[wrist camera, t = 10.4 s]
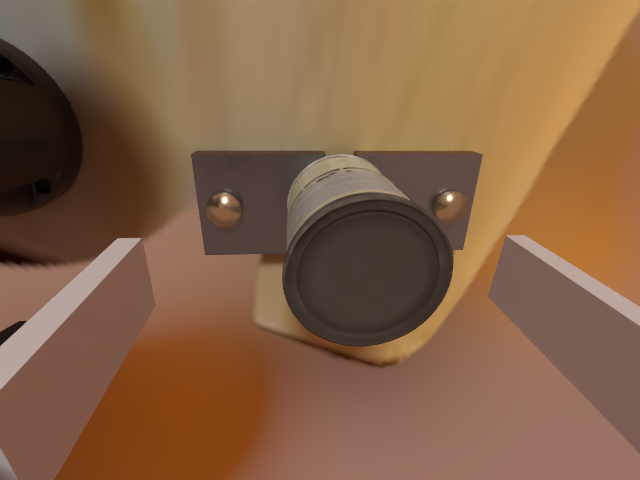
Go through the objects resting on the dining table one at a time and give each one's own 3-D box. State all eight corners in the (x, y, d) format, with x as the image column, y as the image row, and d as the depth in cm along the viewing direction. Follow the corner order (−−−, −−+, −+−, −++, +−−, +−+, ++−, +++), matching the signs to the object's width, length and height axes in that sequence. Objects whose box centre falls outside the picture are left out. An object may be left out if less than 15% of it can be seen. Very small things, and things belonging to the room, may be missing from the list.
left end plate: (209, 246, 36) (202, 259, 33) (197, 150, 32) (187, 156, 29) (321, 244, 36) (324, 256, 34) (323, 150, 32) (326, 156, 30)
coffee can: (411, 190, 33) (489, 253, 20) (350, 269, 36) (383, 369, 23) (324, 129, 30) (349, 158, 17) (266, 221, 33) (250, 305, 20)
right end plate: (349, 244, 37) (353, 256, 34) (354, 151, 33) (359, 156, 30) (454, 242, 38) (467, 253, 35) (472, 151, 34) (488, 156, 31)
